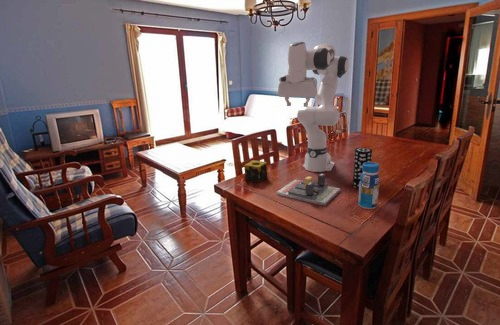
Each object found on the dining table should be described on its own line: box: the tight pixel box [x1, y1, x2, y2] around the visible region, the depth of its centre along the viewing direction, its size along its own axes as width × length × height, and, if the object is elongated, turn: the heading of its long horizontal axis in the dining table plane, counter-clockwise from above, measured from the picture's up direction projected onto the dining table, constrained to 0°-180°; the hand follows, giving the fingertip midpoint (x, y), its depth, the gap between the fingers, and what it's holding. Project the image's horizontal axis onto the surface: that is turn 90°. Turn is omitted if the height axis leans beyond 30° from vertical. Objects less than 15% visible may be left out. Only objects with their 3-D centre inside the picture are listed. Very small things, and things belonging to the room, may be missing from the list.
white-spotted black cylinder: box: [352, 147, 373, 190], centre depth 152 cm, size 8×8×20 cm
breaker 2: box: [306, 182, 314, 195], centre depth 141 cm, size 4×2×5 cm
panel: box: [276, 179, 341, 207], centre depth 150 cm, size 20×26×3 cm
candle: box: [244, 159, 268, 184], centre depth 171 cm, size 10×10×10 cm
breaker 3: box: [317, 173, 326, 185], centre depth 151 cm, size 4×2×5 cm
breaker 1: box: [304, 175, 313, 188], centre depth 148 cm, size 4×2×5 cm
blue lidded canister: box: [357, 161, 381, 210], centre depth 130 cm, size 8×8×20 cm
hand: (297, 106), depth 146 cm, fingers open, 8 cm apart
